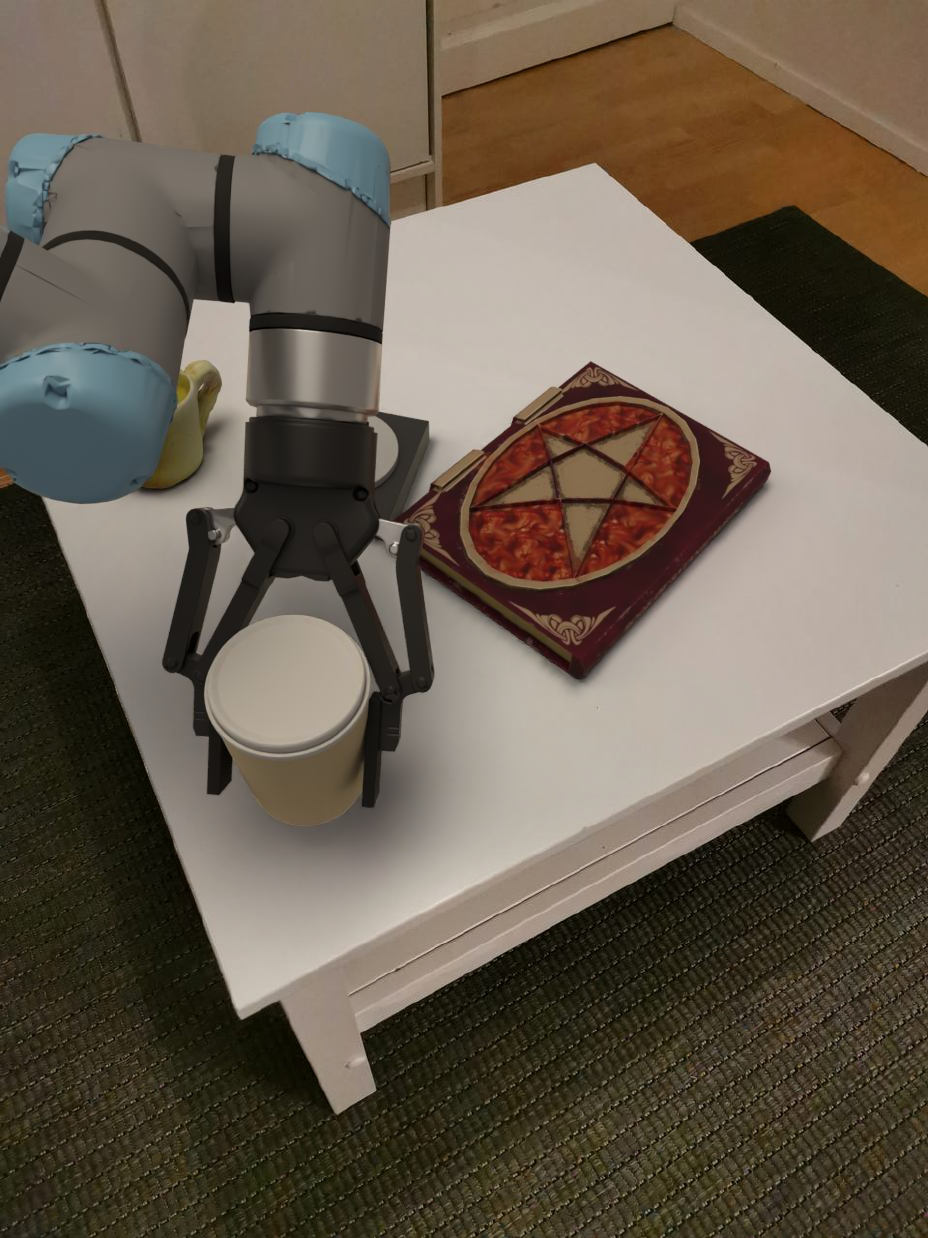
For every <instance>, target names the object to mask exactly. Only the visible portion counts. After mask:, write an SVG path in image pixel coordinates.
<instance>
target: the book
mask: <svg viewBox="0 0 928 1238" xmlns="http://www.w3.org/2000/svg"><path fill="white" fill-rule="evenodd" d="M771 474H772V468H771V464H770V462H769V461H768V460H766V459H764V458H762V457H761V456H759V455H758V454H755V452H752V451H750V450H748V449H747V448H745V447H744V446H742V445H739V444H738V443H737V442H734V441H732V440H731V439H729V438H728V437H725V436H724V435H722V434H720V433H718V432H717V431H715V430H713V429H712V428H710V427H708V426H706V425H704V424H703V423H700V422H699V421H698V420H696V419H694V418H692V417H690V416H689V415H687V414H685V413H683V412H681V411H680V410H678V409H677V408H674V407H673V406H671V405H669V404H667V403H665V402H664V401H662V400H661V399H659V398H657V397H655V396H653V395H651V394H650V393H648V392H647V391H644V390H643V389H641V388H639V387H637V386H636V385H634V384H632V383H630V382H629V381H627V380H625V379H623V378H622V377H619V376H618V375H616V374H614V373H613V372H611V371H610V370H607V369H605V368H604V367H602V366H600V365H599V364H597V363H595V362H593V361H592V360H590V361H589V362H588V363H587V364H584V366H583V367H581V369H579V370H578V371H576V373H574V374H573V375H572V376H570V377H569V378H568V379H567V380H566V381H564V382H563V383H562V384H560V385H559V386H558V387H557V386H550V387H549V388H548V389H547V390H545V391H544V392H543V393H542V394H540V395H539V396H538V397H536V398H535V399H534V400H532V402H530V403H529V404H528V405H527V406H525V407H524V408H523V409H521V410H520V411H519V412H518V413H516V414H515V415H514V416H512V420H511V423H510V426H509V427H507V428H506V429H504V431H502V432H501V433H500V434H499V435H497V437H495V438H494V439H492V440H491V441H490V442H488V443H487V444H486V445H485V446H484V447H482V448H481V449H477V448H475V449H472V450H470V451H469V452H468V453H467V454H465V455H464V456H463V457H462V458H460V459H459V460H458V461H457V462H455V463H454V464H453V465H452V466H451V467H449V468H448V469H446V471H445V472H443V473H442V474H440V476H438V477H436V479H434V480H433V481H431V482H430V483H429V489H428V492H427V493H425V495H423V496H422V497H421V498H419V499H418V500H417V501H416V502H414V503H413V504H412V505H410V507H408V508H407V509H406V510H404V511H403V512H401V513H400V515H399V516H398V517H397V518H396V519H395V520H394V521H395V522H400V523H404V524H412V523H418V524H421V525H422V526H423V527H424V530H425V537H424V541H423V546H422V551H421V555H420V560H419V565H420V569H421V570H423V571H425V572H426V573H428V574H429V575H430V576H432V577H433V578H434V579H436V580H437V581H439V583H442V584H443V585H444V586H446V587H447V588H448V589H450V590H451V591H453V592H454V593H455V594H457V595H458V596H459V597H461V598H462V599H464V600H465V601H467V602H468V603H469V604H471V605H472V606H473V607H475V608H477V610H479V611H480V612H482V613H483V614H485V615H486V616H488V617H489V618H490V619H491V620H493V621H494V622H496V623H497V624H499V626H502V627H503V628H504V629H505V630H507V631H508V632H510V633H511V634H512V635H514V636H515V637H517V638H518V639H519V640H521V641H522V642H524V643H525V644H527V645H528V646H529V647H531V648H532V649H533V650H535V651H536V652H538V653H539V654H541V655H542V656H543V657H545V658H546V659H548V660H549V661H550V662H552V663H553V664H555V665H556V666H558V668H560V669H562V670H563V671H564V672H566V673H567V674H568V675H570V676H571V677H573V678H574V679H582V678H584V677H585V676H586V675H587V674H588V673H589V672H590V671H591V669H592V668H594V666H595V665H596V664H597V663H598V662H599V661H600V660H601V659H602V657H604V655H605V654H606V653H607V652H608V651H609V650H610V649H611V648H612V647H613V646H614V645H615V644H616V642H617V641H619V640H620V638H621V637H622V636H623V635H624V634H625V633H626V632H627V631H628V630H629V629H630V627H632V626H633V625H634V624H635V622H636V621H637V620H638V619H639V618H640V617H641V616H642V615H643V614H644V612H645V611H646V610H648V608H649V607H650V606H651V605H652V604H653V603H654V602H655V601H656V600H657V599H658V598H659V596H660V595H662V593H663V592H665V590H666V589H667V588H668V587H669V586H670V585H671V584H672V583H673V582H674V581H675V579H676V578H677V577H678V576H680V574H681V573H682V572H683V571H684V570H685V569H686V568H687V567H688V566H689V565H690V563H691V562H692V561H694V559H695V558H696V557H697V556H698V555H699V554H700V553H701V552H702V551H703V550H704V549H705V548H706V547H707V545H708V544H709V543H710V542H711V541H712V540H713V539H714V538H715V537H716V536H717V535H718V534H719V533H720V531H721V530H723V528H724V527H725V526H726V525H727V524H728V523H729V522H730V521H731V520H732V519H733V518H734V516H735V515H736V514H737V513H738V512H739V511H740V510H741V509H742V508H743V507H744V506H745V505H746V504H747V503H748V501H750V500H751V498H752V497H753V496H754V495H755V494H756V493H757V492H758V491H759V490H760V489H761V488H762V486H763V485H765V483H767V481H768V480H769V478H770V476H771Z"/></svg>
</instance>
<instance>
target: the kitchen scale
mask: <svg viewBox="0 0 928 1238" xmlns="http://www.w3.org/2000/svg"><path fill="white" fill-rule="evenodd" d="M368 422H369V426H371V427H374V432H376V433H378V437H377V454H376V471H375V488H374V500H375V504H376V507H377V510H378V512H379V514H380V516H381V518H382V519H386V520H391V521H394V520H395V519H396V518H397V517H398V516H400V515H401V514H402V510H403V508H404V505H405V503H406V500H407V498H408V496H409V494H410V493H409V492H410V490H411V489H412V485H413V483H414V480H415V478H416V476H417V473H418V470H419V467H420V465H421V463H422V460H423V459H424V456H425V453H426V450H427V448H428V445H429V443H430V420H425V419H420V418H416V417H409V416H404V415H399V414H394V413H389V412H384V411H379V412H378V413H377V414H376V415H375V416H373V417H368ZM374 539H376V540H381V541H383V539H382V538H380V537H379V536H376V537H375V538H374Z"/></svg>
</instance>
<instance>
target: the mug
mask: <svg viewBox="0 0 928 1238" xmlns="http://www.w3.org/2000/svg"><path fill="white" fill-rule="evenodd" d="M222 386H223V379H222V376H221V374H220V371H219V370H218V369H217V368H216V366H215V365H214V364H213V363H212V362H210V361H209V360H207V359H198V360H194V361H192V362H191V363H189V364H188V365H187V366H186V367H185V369H184V370H182V369H181V368H180V373H179V380H178V386H177V392H176V393H177V398H178V405H177V408H176V410H175V412H174V419H173V421H172V423H171V425H170V426H169V427H168V430H167V434H166V438H165V441H164V445H163V448H162V452H161V456H160V459H159V462H158V465H157V467H156V469H155V471H154V473H153V475H152V477H151V479H149V480H147V481H146V482H144V484H143V485H142V486H141V487H140V488H146V489H160V490H161V489H168V488H171V487H173V486H175V485H176V484H179V483H181V482H182V481H183V480H185V479H187V478H189V477H190V476H191V475H192V474H194V472H196V471H197V470H198V468H199V467H200V465H201V464H202V461H203V458H204V449H203V448H204V447H203V446H204V444H203V439H204V436H205V433H206V429H207V424H208V420H209V418H210V413H211V412H212V411H213V409H214V408H215V405H216V404H217V401H218V398H219V397H218V396H219V393H220V392H221V391H222V390H221V389H222Z"/></svg>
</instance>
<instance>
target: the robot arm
mask: <svg viewBox="0 0 928 1238" xmlns="http://www.w3.org/2000/svg"><path fill="white" fill-rule="evenodd" d="M391 165H392V163H391V159H390V154H389V151H388V149H387V147H386V145H385V143H384V142H383V141H382V139H381V138H380V136H378V135H377V134H376V133H375V132H374V131H373V130H371V129H369V128H368V127H367V126H365V125H363V124H361V123H359V122H357V121H354V120H351V119H348V118H346V117H342V116H339V115H335V114H330V113H326V112H325V113H324V112H318V111H304V112H303V113H293V112H287V111H286V112H281V113H277V114H276V113H275V114H273V115H271V116H269V117H267V118H265V119H263V121H262V122H261V123H260V124H259V125H258V128H257V130H256V135H255V142H254V144H253V146H252V147H251V154H250V155H249V154H241V153H237V154H236V155H231V154H230V155H229V154H223V153H218V152H210V151H203V150H195V149H189V148H183V147H182V148H181V147H175V146H168V145H167V146H166V145H162V144H161V145H160V144H154V143H147V142H140V141H132V140H125V139H119V138H111V137H107V136H104V135H101V134H97V133H90V134H87V133H83V134H79V135H78V134H77V135H76V134H58V133H57V134H56V133H44V132H36V133H35V132H34V133H30V134H27V135H25V136H24V137H22V138H20V139H19V140H18V141H17V142H16V144H15V145H14V147H13V149H12V150H11V152H10V154H9V158H8V162H7V177H8V178H7V182H6V183H5V184H4V209H5V210H4V211H5V219H6V227H5V226H4V225H3V224H1V223H0V468H1V469H2V470H3V471H4V472H5V473H6V474H7V475H9V476H10V479H11V482H13V483H15V484H16V485H17V486H19V487H21V488H22V489H24V490H26V491H28V492H30V493H33V494H34V495H38V496H39V497H43V498H46V499H49V500H53V501H57V502H63V503H68V504H77V505H91V504H93V505H94V504H101V503H102V504H103V503H108V502H112V501H116V500H119V499H122V498H124V497H127V496H128V495H131V494H132V493H134V492H135V491H137V490H139V489H140V488H142V487H141V486H142V485H143V484H144V482H146V481H147V480H149V479H151V477H152V475H153V473H154V471H155V469H156V467H157V465H158V462H159V459H160V456H161V452H162V448H163V445H164V441H165V438H166V434H167V430H168V427H169V426H170V425H171V423H172V421H173V419H174V412H175V410H176V408H177V405H178V398H177V393H176V392H177V386H178V380H179V373H180V369H181V368H182V367H181V365H182V361H183V354H184V349H185V348H184V347H185V342H186V338H187V335H188V331H189V330H188V329H189V325H190V320H191V315H192V310H193V305H194V302H195V301H194V300H198V301H207V302H209V301H210V302H220V303H228V304H235V303H244V304H245V303H246V304H249V305H248V306H249V316H250V318H249V320H248V332H249V333H248V350H247V373H246V388H245V389H246V391H245V401H246V403H247V404H248V405H249V406H250V407H253V408H256V413H255V416H250V417H248V421H245V422H244V423H245V424H244V426H245V427H244V450H243V477H242V478H243V483H242V486H243V487H242V492H241V495H240V497H239V499H238V500H237V502H236V504H234V505H235V506H234V507H226V508H225V507H224V508H213V507H211V506H205V507H195V508H191V509H190V510H188V511H187V513H186V514H185V527H186V534H187V542H188V551H187V555H186V560H185V564H184V568H183V572H182V576H181V582H180V583H179V588H178V592H177V597H176V600H175V606H174V609H173V613H172V618H171V622H170V626H169V630H168V634H167V639H166V643H165V647H164V652H163V655H162V660H161V665H162V668H163V669H164V671H165V672H167V673H169V674H178V675H180V676H183V677H185V678H187V679H188V680H189V681H190V682H191V683H192V686H193V708H192V709H193V713H192V730H193V733H194V734H195V737H204V738H205V737H206V738H208V743H207V744H208V745H207V749H208V750H207V775H206V795H208V796H209V795H210V796H220V795H221V794H222V793H223V792H224V791H225V790H226V789H227V787H228V786H229V785H230V784H231V782H233V764H234V763H233V762H234V760H233V758H232V756H231V754H230V752H229V751H228V749H227V747H226V745H225V743H224V741H223V739H222V737H221V736H220V735H219V734H218V732H217V731H216V729H215V728H214V726H213V725H212V723H211V721H210V719H209V716H208V713H207V710H206V705H205V697H204V691H205V683H206V678H207V675H208V672H209V669H210V667H211V665H212V663H213V661H214V659H215V657H216V656H217V654H218V653H219V651H220V650H221V648H222V647H223V646H224V645H225V644H226V643H227V642H228V641H229V640H230V639H231V638H232V637H233V636H234V635H235V634H237V633H238V632H239V631H241V630H242V629H244V628H246V627H248V626H249V625H251V622H252V621H253V619H254V617H255V615H256V612H257V611H258V609H259V608H260V605H261V603H262V602H263V600H264V598H265V596H266V595H267V592H268V590H269V588H270V587H271V586H272V584H273V583H274V582H275V580H276V579H294V578H300V577H304V578H306V579H309V580H312V581H314V582H327V583H329V582H332V583H333V586H334V588H335V591H336V593H337V595H338V596H339V597H340V599H341V601H342V603H343V606H344V609H345V611H346V613H347V615H348V618H349V620H350V622H351V625H352V627H353V630H354V633H355V635H356V637H357V639H358V642H359V644H360V648H361V650H362V652H363V653H364V655H365V658H366V660H367V663H368V666H369V670H370V672H371V673H372V676H373V679H374V681H375V683H376V686H377V688H378V690H379V691H378V690H373V691H372V692H371V694H370V696H369V706H368V716H367V722H366V738H365V755H364V772H363V789H362V792H361V806H360V807H361V808H366V809H368V808H369V809H375V807H376V803H377V800H378V798H379V796H380V793H381V791H380V790H381V774H382V760H383V759H382V758H383V752H390V753H391V752H392V753H393V752H394V753H395V752H396V750H397V748H398V746H399V744H400V741H401V738H402V726H403V710H404V709H403V708H404V700H405V698H407V697H408V696H411V695H415V694H418V693H419V694H424V693H428V692H429V691H430V690H431V689H432V686H433V684H434V680H435V675H436V673H435V672H436V671H435V666H434V659H433V657H434V656H433V652H432V645H431V637H430V631H429V630H430V629H429V623H428V615H427V608H426V602H425V595H424V594H425V593H424V587H423V581H422V573H421V572H422V571H421V567H420V565H419V560H420V555H421V551H422V546H423V541H424V537H425V530H424V527H423V526H422V525H421V524H418V523H412V524H404V523H400V522H395V521H391V520H386V519H382V518H381V516H380V514H379V512H378V510H377V507H376V504H375V500H374V488H375V471H376V454H377V437H378V433H376V432H374V427H371V426H369V422H368V417H373V416H375V415H376V414H377V413H378V412H380V403H381V402H380V401H381V380H382V361H383V360H382V359H383V358H382V357H383V338H384V337H383V336H384V325H385V324H384V323H385V312H386V311H385V310H386V296H387V281H388V267H389V256H390V255H389V254H390V253H389V252H390V240H391V228H392V220H391V169H392V166H391ZM234 527H237V528H238V530H239V531H240V533H241V535H242V536H243V538H244V539H245V541H246V542H247V544H248V546H249V547H250V549H251V550H252V552H253V555H252V557H251V559H250V560H249V562H248V565H247V566H246V568H245V570H244V572H243V574H242V576H241V579H240V583H239V585H238V587H237V589H236V590H235V592H234V593H233V594H234V595H232V598H231V599H230V601H229V604H228V605H227V607H226V609H225V611H224V613H223V614H222V617H221V619H220V620H219V621H218V624H217V626H216V627H215V629H214V631H213V634H212V635H211V637H210V639H209V641H208V643H207V644H206V647H205V648H204V649H203V652H202V654H201V653H199V652H198V647H199V644H200V639H201V636H202V631H203V627H204V623H205V619H206V615H207V611H208V606H209V603H210V599H211V595H212V591H213V586H214V584H215V583H214V582H215V579H216V574H217V571H218V566H219V562H220V557H221V554H222V553H221V552H222V544H225V543H227V542H228V541H229V539H230V537H231V532H232V530H233V528H234ZM376 536H379V537H380V538H382V539H383V540H382V541H383V542H384V546H385V548H384V549H385V553H386V554H387V556H388V557H389V558H391V559H394V560H395V575H396V576H395V577H396V585H397V592H398V599H399V605H400V611H401V619H402V626H403V632H404V640H405V648H406V655H407V660H408V667H409V669H408V670H404V671H402V669H401V668H400V665H399V662H398V660H397V658H396V656H395V652H394V650H393V649H392V646H391V642H390V641H389V639H388V636H387V633H386V630H385V628H384V625H383V624H382V622H381V621H382V620H381V618H380V616H379V614H378V612H377V609H376V606H375V603H374V602H373V599H372V597H371V596H372V595H370V592H369V589H368V587H367V582H366V579H365V575H364V573H363V570H362V568H361V565H360V563H359V560H358V559H359V558H360V556H361V555H362V554H363V553H364V552H365V551H366V549H367V548H368V547H369V545H370V544H371V543H372V542H373V541H374V540H375V539H376V538H375V537H376Z"/></svg>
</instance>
